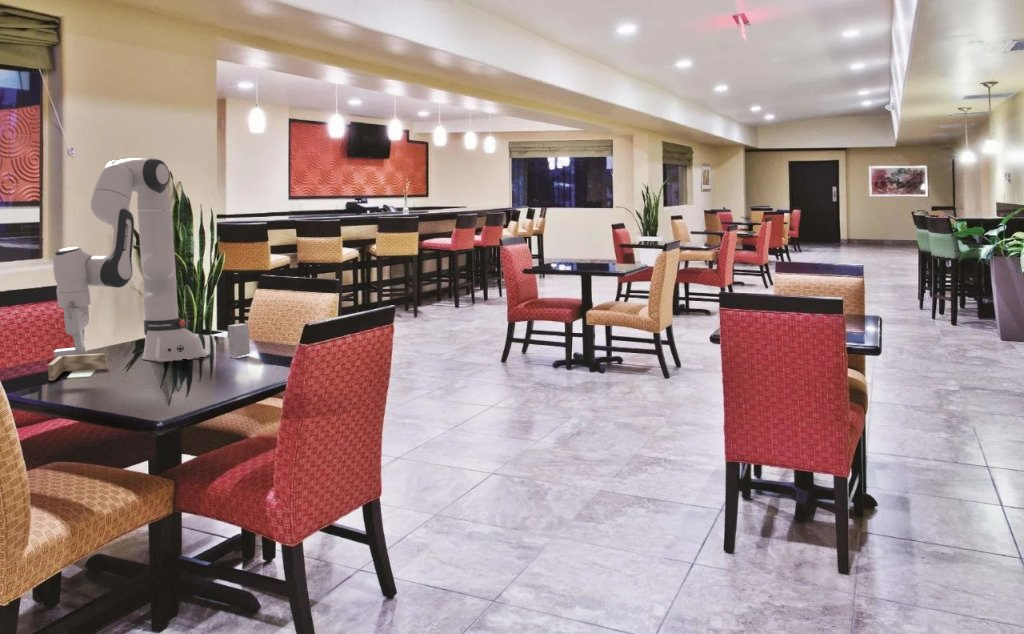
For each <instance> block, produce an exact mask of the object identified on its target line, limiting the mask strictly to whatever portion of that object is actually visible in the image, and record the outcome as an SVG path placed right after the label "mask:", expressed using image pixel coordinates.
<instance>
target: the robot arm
mask: <svg viewBox="0 0 1024 634" xmlns="http://www.w3.org/2000/svg"><path fill="white" fill-rule="evenodd" d="M169 182H170V169H169V168H168V166H167V165H166V163H165V162H164V161H163V160H161V159H158V158H152V157H150V158H144V157H132V158H125V159H114V160H112V161H111V160H110V161H109V162H107V163H106V165H105V166H104V167H103V169H102V170H101V172H100V174H99V176H98V177H97V180H96V183H95V186H94V189H93V193H92V195H91V198H90V199H91V201H90V209H91V211H92V214H94V216H95V217H96V218H97V219H98V220H100V221H101V222H103V223H106V224H107V225H109V226H112V229H113V239H112V249H111V252H110V253H109V254H108V255H93V254H89V253H86V252H85V251H84V250H82V248H81V247H78V246H69V247H63V248H60V249H58V250H56V251H55V252H54V254H53V257H52V258H53V259H52V260H53V261H52V262H53V263H52V265H53V268H52V269H53V277H54V280H55V282H56V290H55V291H56V299H57V305H58V308H61V309H62V308H63V317H64V318H63V319H64V327H65V333H66V335H71V337H72V339H73V342H74V343H73V344H74V347H75V346H81V344H82V342H81V337H80V332H81V331H83V338H84V342H85V340H86V339H85V328H86V327H87V326H88V325H89V320H90V316H89V314H90V313H89V309H90V308H89V306H90V305H92V304H91V295H90V288H89V287H110V288H123V287H125V286H126V285H127V284H128V283H129V282H130V280H131V278H132V275H133V263H132V257H133V256H132V255H133V245H134V234H135V220H134V219H135V218H134V215H133V214H132V212H131V210H130V205H131V199H132V194H133V192H136V193H137V201H136V202H137V205H136V209H137V218H138V219H137V220H138V221H137V222H138V234H139V235H138V236H139V252H140V267H141V272H142V282H143V284H142V286H143V305H144V306H143V309H144V320H143V333H144V335H145V338H144V339H145V340H144V349H143V355H142V360H146V361H153V362H161V363H164V362H173V361H174V360H175V361H183V360H182V359H187V360H194V359H193V358H198V357H204V356H207V355H208V354H209V355H210V352H209V349H208V350H207V349H205V348H204V346H203V342H202V340H201V338H200V337H199V336H197V335H196V334H194V333H193V332H192V331H190V330H189V329H187V328H185V327H186V321H185V319H184V318H183V319H182V318H181V317H179V309H178V308H179V307H178V305H179V304H178V289H177V287H178V286H177V271H176V270H177V269H176V257H175V255H176V254H175V241H174V239H175V238H174V227H173V225H174V224H173V214H172V212H173V211H172V204H171V203H172V201H171V197H170V193H169V188H168V184H169ZM207 357H208V356H207ZM198 359H199V358H198ZM175 361H174V362H175Z"/></svg>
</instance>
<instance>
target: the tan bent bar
mask: <svg viewBox="0 0 1024 634" xmlns="http://www.w3.org/2000/svg"><path fill="white" fill-rule="evenodd" d="M106 369H107V362H106V353H91V354H75V355H66V356H56V357H54V359H52V361H50V363H48V364H47V372H48V381H49V380H50V382H51V381H55V380H56V379H57V378H59V377H60V375H62V374H63V372H73V371H81V370H106Z"/></svg>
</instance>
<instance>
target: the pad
mask: <svg viewBox="0 0 1024 634" xmlns="http://www.w3.org/2000/svg"><path fill="white" fill-rule="evenodd" d="M96 370H97V369H94V370H77V371H71V373H70V374H69V375H68V376H66V379H77V378H90V377H91V376H92V375H93V374H94V373H95V372H96Z"/></svg>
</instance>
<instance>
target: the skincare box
mask: <svg viewBox="0 0 1024 634" xmlns="http://www.w3.org/2000/svg"><path fill="white" fill-rule="evenodd" d="M227 333H228V334H227V335H228V350H229V352H228V353H229V357H230V356H233V357H238V356H242V355H246V354H249V353H250V354H251V352H250V351H251V347H250V332H249V324H248V323H236V324H235V323H234V324H230V325H227Z"/></svg>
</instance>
